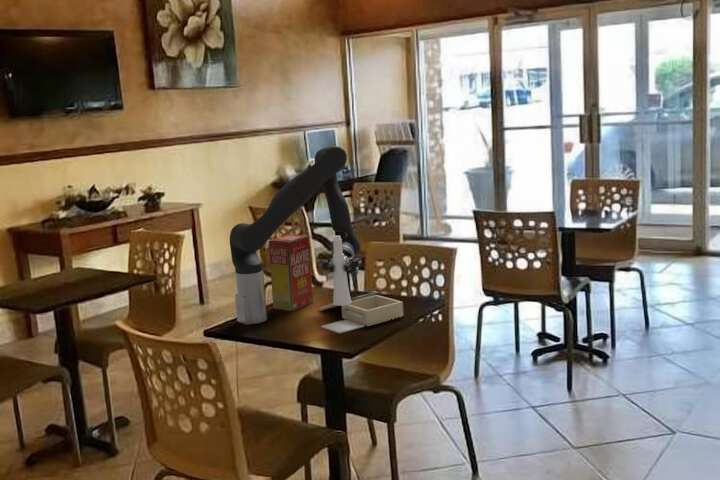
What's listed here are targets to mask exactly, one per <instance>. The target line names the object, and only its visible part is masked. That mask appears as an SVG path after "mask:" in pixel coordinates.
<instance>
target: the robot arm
mask: <svg viewBox="0 0 720 480" xmlns="http://www.w3.org/2000/svg"><path fill="white" fill-rule="evenodd" d="M347 160H348V156H347V152H346V151H345V149H344V148H342V147H341V146H338V145H330V146H326V147H323V148H320V149H319V150H317V152H316V153H315V155H314V164H312V165H311V166H310V167H309V168H308V169H306V170H304V171H303V172H301V173H300V174H298V175H297V176H295V177H294V178H292V179H290V180H289V181H287V183H285V184H284V185H283V186H282V187H281V188H280V189H279V190H278V191H277V192H276V193H275V194H274V196H273V197H272V198H271V201H270V203H269V205H268V208H267V209H266V210H265V212H264V213H263V214H262V215H260V217H258V218H257V219H256V220H255V221H254V222H252V223H251V224H250V223H245V222H241V223H237V224H235V225H234V226H233V227H232V228H231V230H230V234H229V247H230V254H231V261H232V264H233V266H234V272H235V279H236V280H235V281H236V282H235V284H236V292H237V293H236V294H235V295H234V298H235V309H236V321H237V323H238V322H239V323H241V324H243V325H255V324H260V323H261V324H262V323H263V322H264V323H265V322H266V321H267V320H268V315H267V313H268V312H267V303H266V302H267V301H266V290H265V279H264V264H263V262H262V260H261V259H260V258H259V256H258V253H257V252H258V251H259V250H260V249H261V248H262V247H264V245H265V244H267V242H269V240H270V238H271V237H272V236H273V234H275V232H276V231H277V230H278V229H279V228H280V227H281V226H282V225H283V224H285V222H287V220H289V218H291V216H293V215H294V214H295V213H296V212H298V210H299V209H301V207H302V206H303V205H305V203H307V202H308V201H309V199H311V198H312V196H313V195H314V194H316V192H317V191H318V190H319V189H320V188H321V186H322V189H323V193H324V196H325V198H326V204H327V206H328V211H329V218H330V223H331V227H332V229H331V230H333V232H343V233H345V234H347V236H344V237H340V239H342V250H343V254H344V257H345V265H344V268H345V272H346V273H347V272H348V271H350V270H351V269H352V270H355V269H357V268H358V267H360V266H362V257H360V256H359V257H358V256H357V255H359V254H360V253H361V249H362V248H361V246H362V245H361V242H360V240H359V239H358V236H357V234H356V233H355V230H354V227H353V224H352V220H351V215H350V210H349V205H348V203H347V201H346V198H345V196H344V194H343V192H342V190H341V188H340V185H339V181H338V175H337V173H339V172H340V171H341V170H343V168H344V167H345V166H346V165H347ZM330 251H331V255H330V258H328V259H324V258H322V259H320V268H322V269H323V270H324V271H328V272H330V273H333V254H334V247H333V240H332V241H331V243H330ZM355 256H357V257H355Z"/></svg>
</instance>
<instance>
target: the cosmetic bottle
mask: <svg viewBox="0 0 720 480" xmlns="http://www.w3.org/2000/svg"><path fill="white" fill-rule="evenodd" d="M340 238H342V237H341V235H334V236H333V240H332V241H333V247H334V254H333V272H332V274H333V294H332V295H333V298H332V303H333V304H334V305H337V306H341V307H342V306H343V305H348V304H350V303H351V302H352V301H351V298H352V297H351V294H350V289H349V288H350V287H349V281H348V275H347V272H345V268H344V265H345V257H344V254H343V250H342V239H340ZM337 306H336V307H337Z"/></svg>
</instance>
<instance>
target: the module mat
mask: <svg viewBox="0 0 720 480" xmlns="http://www.w3.org/2000/svg"><path fill="white" fill-rule="evenodd" d="M365 326H366V325H363V324H360V323H356V322H353V321H350V320H347V319H343V320H339V321H335V322H331V323H328V324H327V323H326V324H324V325H321V326H320V327H321V328H322V329H325V330H328V331H331V332H334V333H336V334H342V333H347V332H350V331H353V330H357V329H361V328H364V327H365Z"/></svg>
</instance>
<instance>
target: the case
mask: <svg viewBox="0 0 720 480" xmlns="http://www.w3.org/2000/svg"><path fill="white" fill-rule="evenodd" d="M371 295H373V296H371ZM367 296H369V297H367ZM363 297H366V298H363ZM359 298H362V299H359ZM355 299H358V300H355ZM351 300H354V301H352V302H351V303H350V304H348V305H343V306H341V316H342V317H341V319H343V320H349V321H352V322H356V323H359V324H362V325H364V326H366V327H369V326H373V325H377V324H381V323H384V322H387V321H391V319H392V320H395V318H396V319H398V317H399V318H402V316H403V317H404V301H401V300H398V299H394V298H390V297H386V296H382V295H379V294H377V293H376V292H374V293H373V292H370V294H369V293H366V295H365V294H362V295H357V296H354V297H351Z"/></svg>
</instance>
